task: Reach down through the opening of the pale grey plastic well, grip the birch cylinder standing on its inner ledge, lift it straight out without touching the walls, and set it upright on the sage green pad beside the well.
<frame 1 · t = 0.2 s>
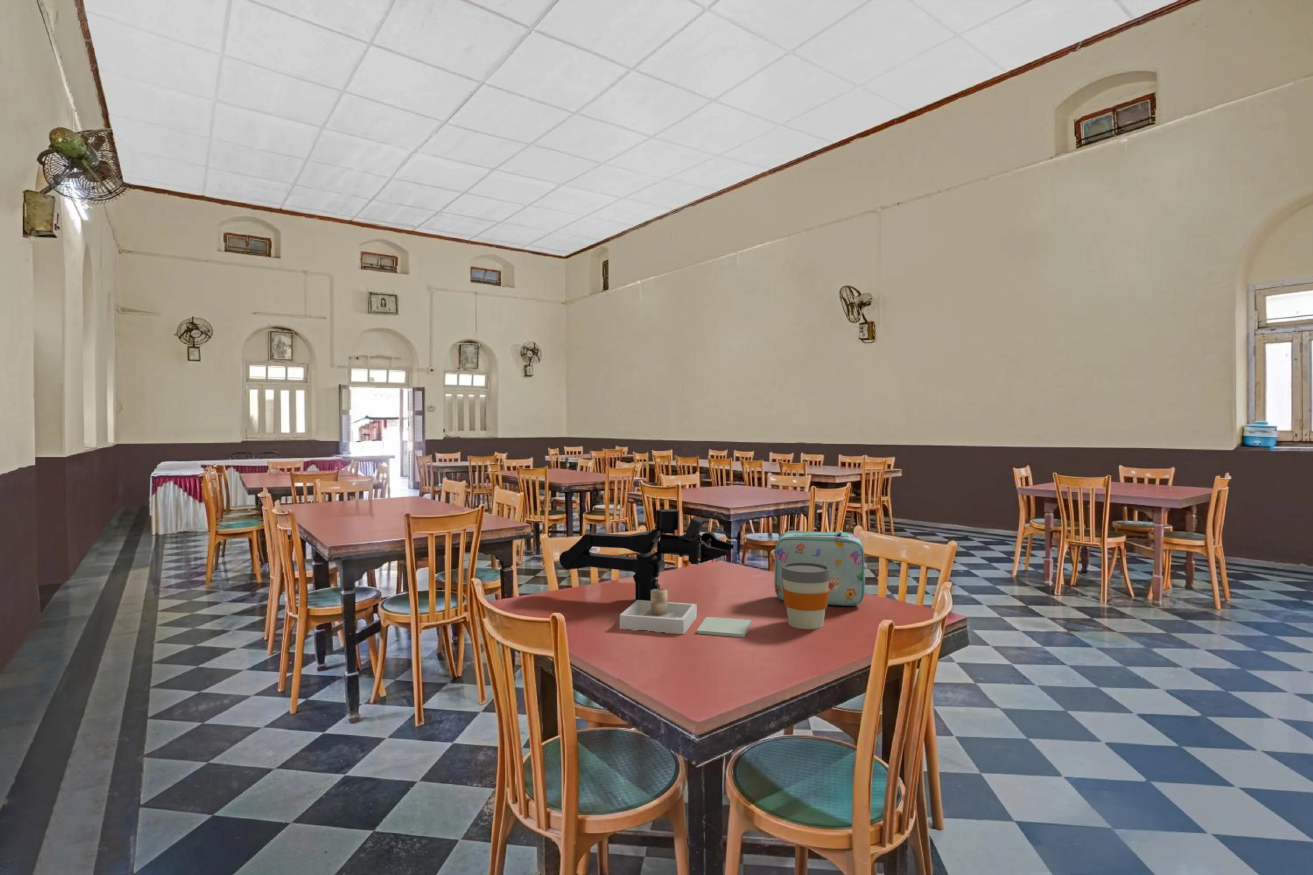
hand: (730, 549, 190), 17 cm above the table, tool horizontal, fingers open, 9 cm apart
lunch box: (820, 602, 195), on the table
birch cylinder: (659, 613, 176), point 3 cm above the table, touching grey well
reusable coffee cup: (805, 624, 174), on the table
green pad: (724, 628, 171), on the table
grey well: (659, 622, 176), on the table
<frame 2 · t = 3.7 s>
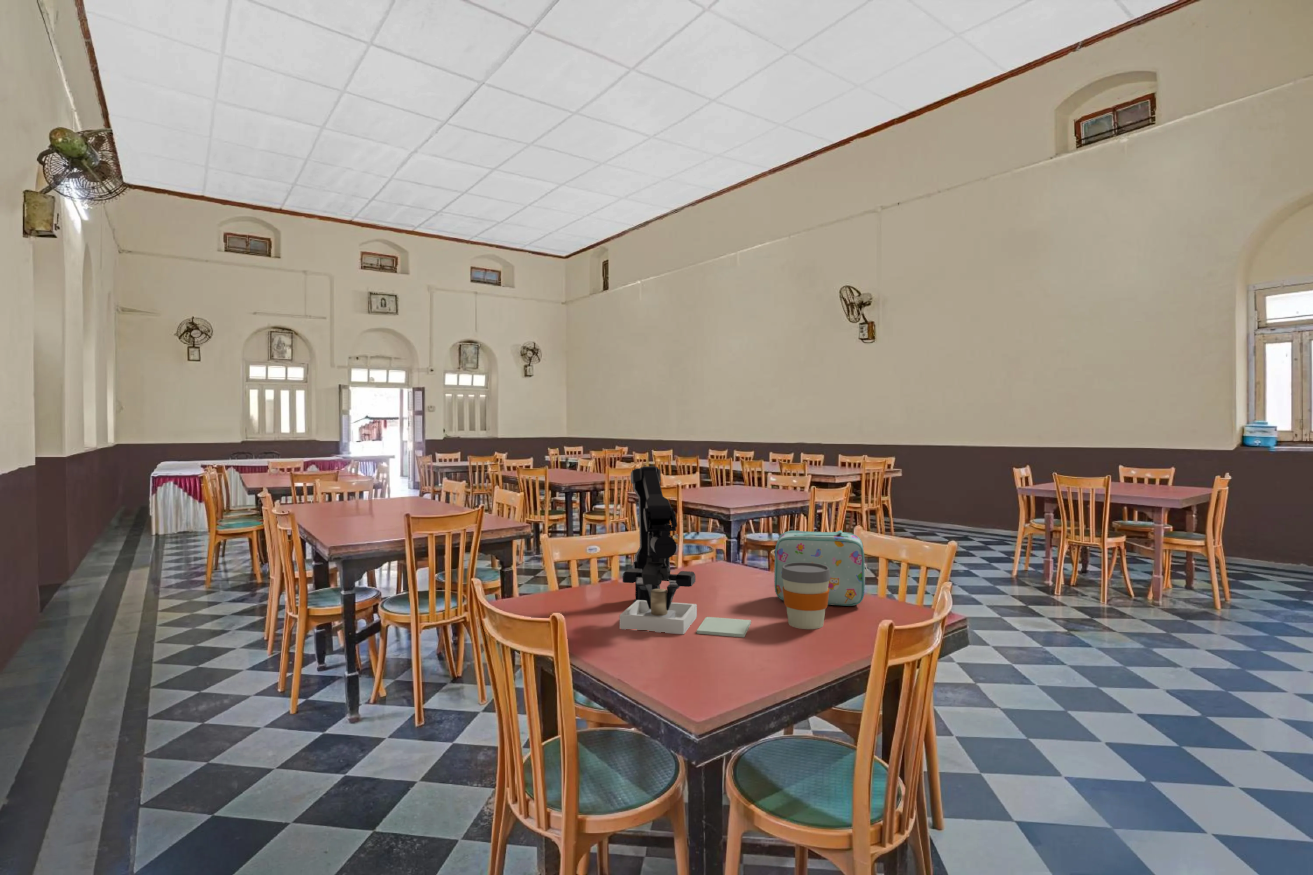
hand: (659, 609, 176), 4 cm above the table, tool pointing down, fingers closed on birch cylinder, 4 cm apart
birch cylinder: (659, 613, 176), point 3 cm above the table, touching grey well, gripper
everything else where it was.
when the fingers open (4 cm above the table, at t = 8.9 s): birch cylinder drops 2 cm, resting on green pad.
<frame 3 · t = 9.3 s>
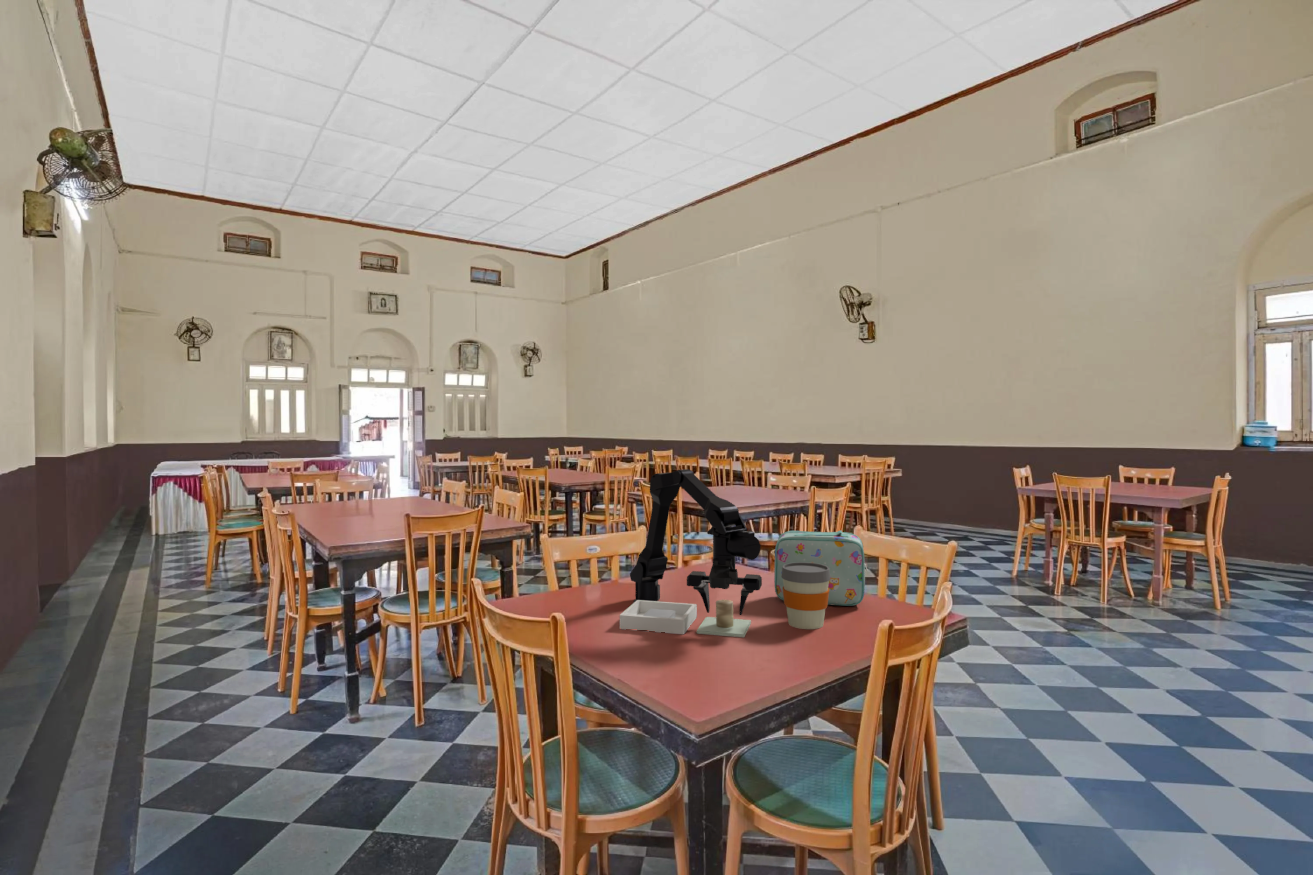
hand: (724, 613, 171), 4 cm above the table, tool pointing down, fingers open, 8 cm apart
birch cylinder: (724, 625, 171), point 1 cm above the table, touching green pad
everything else where it was.
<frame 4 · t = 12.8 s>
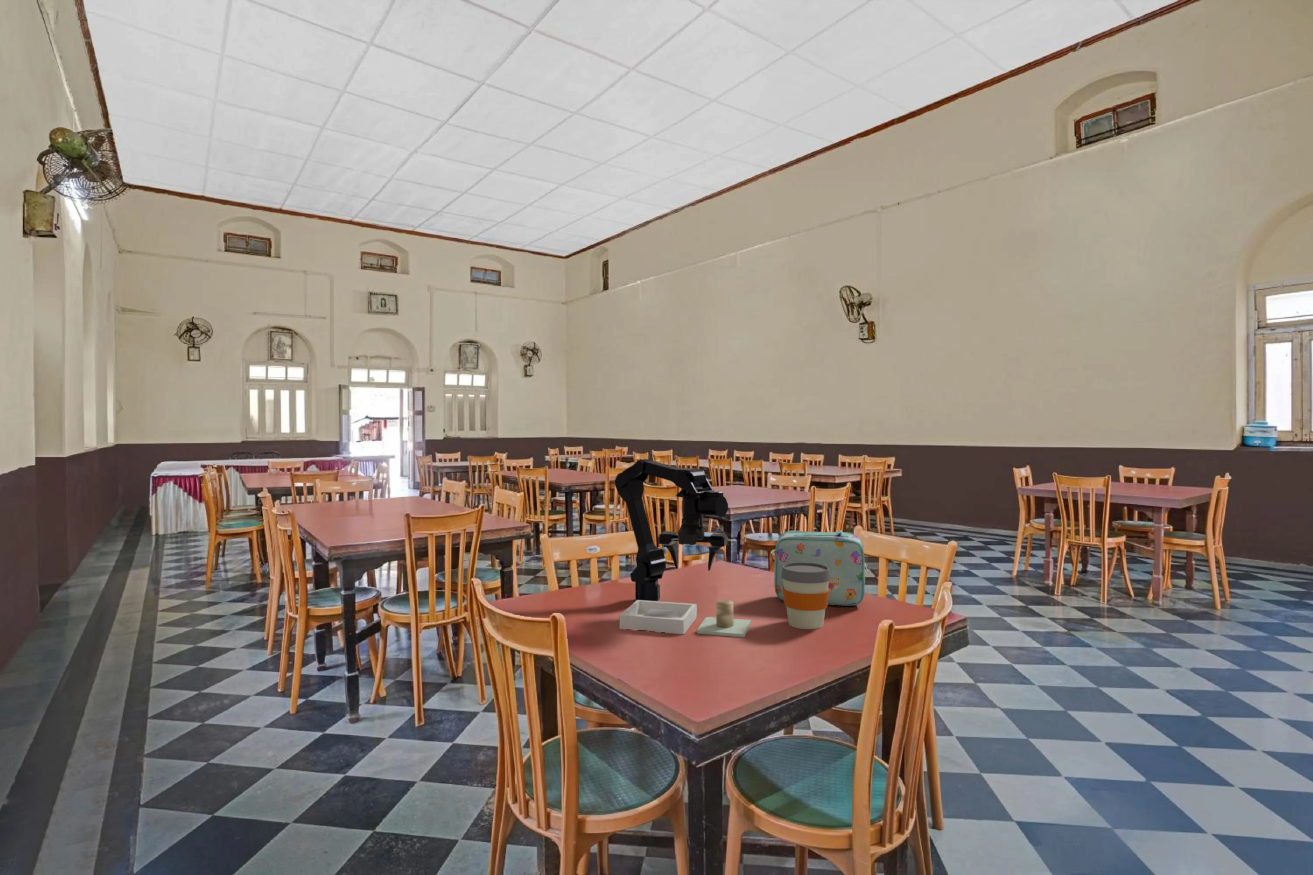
hand: (693, 569, 185), 12 cm above the table, tool pointing down, fingers open, 9 cm apart
nothing on the table moved.
at the end: birch cylinder inside the target area on the green pad (0.1 cm from its centre), point 0.8 cm above the green pad's base; birch cylinder tilted 0°; birch cylinder touching green pad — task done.
